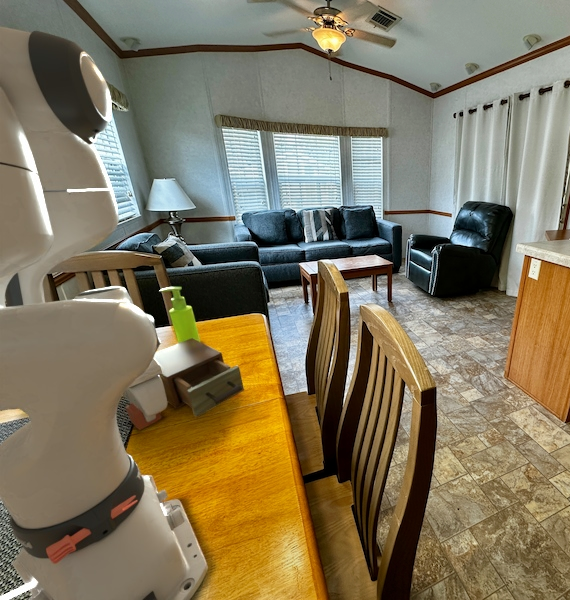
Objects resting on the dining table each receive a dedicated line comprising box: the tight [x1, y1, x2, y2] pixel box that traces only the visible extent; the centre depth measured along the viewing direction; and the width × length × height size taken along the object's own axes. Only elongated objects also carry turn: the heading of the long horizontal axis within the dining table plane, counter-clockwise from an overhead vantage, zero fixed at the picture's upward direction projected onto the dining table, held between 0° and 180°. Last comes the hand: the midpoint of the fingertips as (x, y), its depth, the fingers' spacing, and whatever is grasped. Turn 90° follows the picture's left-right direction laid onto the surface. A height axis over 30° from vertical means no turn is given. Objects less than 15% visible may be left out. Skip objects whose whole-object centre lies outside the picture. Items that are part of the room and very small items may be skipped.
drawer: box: [172, 359, 245, 418], centre depth 78 cm, size 18×12×7 cm, turn 57°
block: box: [125, 404, 163, 431], centre depth 73 cm, size 4×4×4 cm
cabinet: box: [154, 338, 225, 409], centre depth 84 cm, size 15×13×9 cm
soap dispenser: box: [158, 286, 202, 344], centre depth 101 cm, size 6×7×20 cm
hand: (144, 414), depth 73 cm, fingers closed on block, 4 cm apart
